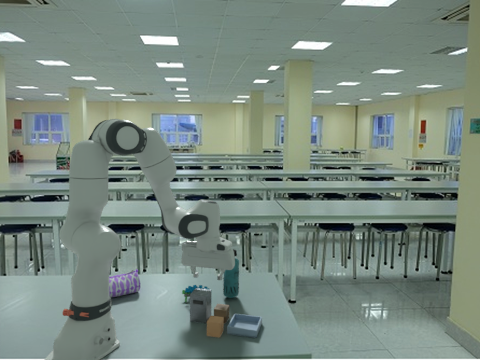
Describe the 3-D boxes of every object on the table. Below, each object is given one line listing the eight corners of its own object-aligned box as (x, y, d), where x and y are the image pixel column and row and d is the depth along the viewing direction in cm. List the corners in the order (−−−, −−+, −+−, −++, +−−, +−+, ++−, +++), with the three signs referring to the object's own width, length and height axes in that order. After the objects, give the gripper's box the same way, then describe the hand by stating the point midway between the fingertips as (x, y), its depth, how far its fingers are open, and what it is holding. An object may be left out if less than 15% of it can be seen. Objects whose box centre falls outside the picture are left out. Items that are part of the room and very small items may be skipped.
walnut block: (225, 323, 139) (226, 310, 139) (213, 322, 140) (213, 308, 140) (229, 318, 144) (229, 305, 143) (217, 316, 145) (217, 303, 144)
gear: (212, 292, 162) (207, 282, 154) (212, 306, 158) (206, 297, 151) (186, 294, 163) (179, 284, 155) (185, 308, 160) (178, 299, 152)
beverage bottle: (220, 299, 159) (220, 251, 156) (226, 293, 165) (227, 246, 162) (235, 302, 157) (236, 253, 154) (241, 296, 163) (242, 248, 160)
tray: (256, 338, 130) (256, 330, 130) (227, 334, 132) (227, 326, 132) (261, 323, 140) (262, 316, 139) (234, 320, 142) (234, 313, 142)
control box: (205, 323, 139) (206, 296, 138) (189, 321, 140) (189, 294, 139) (211, 315, 145) (211, 289, 144) (196, 313, 147) (196, 287, 146)
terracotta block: (219, 337, 130) (219, 323, 129) (206, 335, 131) (206, 321, 130) (223, 331, 134) (223, 317, 134) (210, 329, 135) (210, 315, 135)
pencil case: (135, 286, 171) (135, 265, 170) (144, 293, 164) (143, 271, 163) (82, 298, 158) (81, 276, 157) (89, 307, 151) (88, 283, 150)
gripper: (178, 242, 147) (178, 278, 148) (232, 247, 142) (231, 284, 144) (184, 238, 153) (184, 272, 154) (236, 242, 148) (235, 278, 150)
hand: (207, 278), depth 149 cm, fingers open, 8 cm apart
